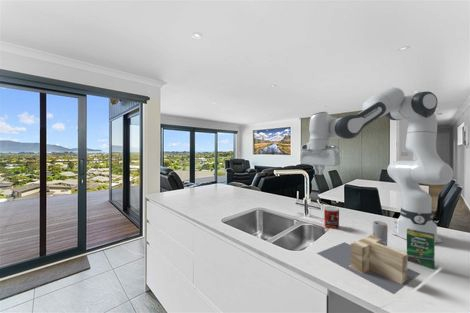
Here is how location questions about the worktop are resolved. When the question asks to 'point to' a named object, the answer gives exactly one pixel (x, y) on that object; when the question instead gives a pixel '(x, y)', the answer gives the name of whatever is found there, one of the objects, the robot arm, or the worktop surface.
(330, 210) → the canned food
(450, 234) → the worktop surface
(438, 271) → the worktop surface
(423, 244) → the coffee box
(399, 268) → the t block
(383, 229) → the energy drink
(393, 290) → the mat
